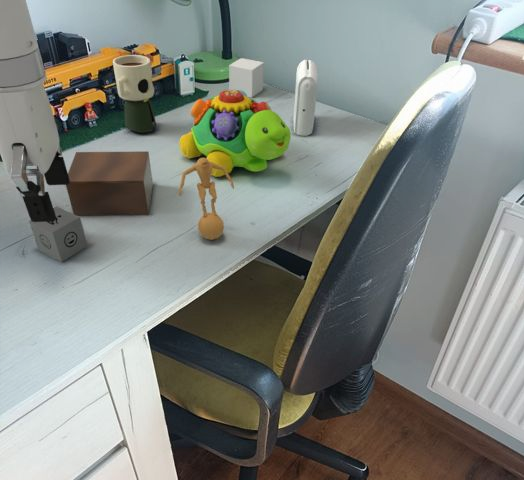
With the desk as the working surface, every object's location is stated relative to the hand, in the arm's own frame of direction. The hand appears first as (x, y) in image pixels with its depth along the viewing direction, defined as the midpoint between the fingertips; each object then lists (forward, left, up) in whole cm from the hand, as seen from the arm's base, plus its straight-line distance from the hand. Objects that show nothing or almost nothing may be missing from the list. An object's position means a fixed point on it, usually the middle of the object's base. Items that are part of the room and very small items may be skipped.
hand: (51, 201), depth 71 cm
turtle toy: (+28, +27, -8) cm, 40 cm away
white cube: (+31, +63, -8) cm, 71 cm away
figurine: (+22, +3, -8) cm, 23 cm away
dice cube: (0, 0, -8) cm, 8 cm away
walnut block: (+6, +14, -8) cm, 17 cm away
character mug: (+8, +42, -8) cm, 44 cm away
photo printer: (+42, +43, -8) cm, 60 cm away
